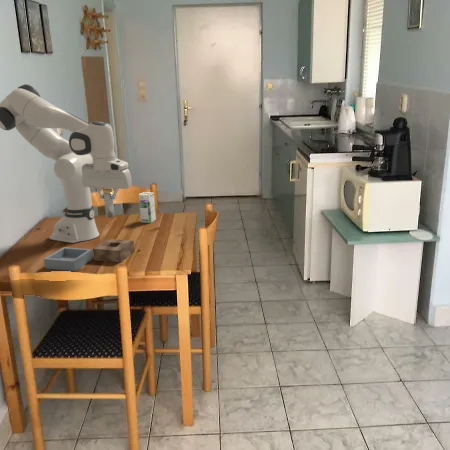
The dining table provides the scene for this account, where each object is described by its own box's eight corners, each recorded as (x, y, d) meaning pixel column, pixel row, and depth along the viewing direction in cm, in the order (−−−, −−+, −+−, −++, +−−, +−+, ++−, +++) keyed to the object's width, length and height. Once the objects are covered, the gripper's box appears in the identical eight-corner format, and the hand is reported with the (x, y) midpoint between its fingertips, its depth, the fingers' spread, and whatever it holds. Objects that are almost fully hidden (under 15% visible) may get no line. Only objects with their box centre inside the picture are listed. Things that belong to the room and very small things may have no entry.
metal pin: (104, 217, 195) (101, 190, 192) (108, 214, 199) (105, 188, 195) (112, 217, 194) (109, 190, 191) (116, 215, 198) (113, 188, 194)
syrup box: (140, 222, 246) (138, 194, 241) (146, 219, 251) (144, 191, 247) (150, 223, 244) (148, 194, 239) (156, 219, 249) (154, 192, 245)
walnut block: (94, 260, 198) (92, 248, 196) (109, 250, 209) (107, 238, 207) (121, 262, 195) (119, 250, 193) (134, 251, 205) (133, 240, 204)
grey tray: (45, 268, 191) (43, 258, 190) (64, 256, 203) (63, 247, 202) (75, 271, 188) (73, 261, 186) (93, 258, 200) (92, 249, 199)
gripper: (76, 164, 190) (81, 199, 194) (124, 166, 184) (127, 201, 189) (85, 161, 196) (89, 195, 200) (132, 163, 190) (135, 197, 194)
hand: (108, 198), depth 194 cm, fingers closed on metal pin, 3 cm apart
